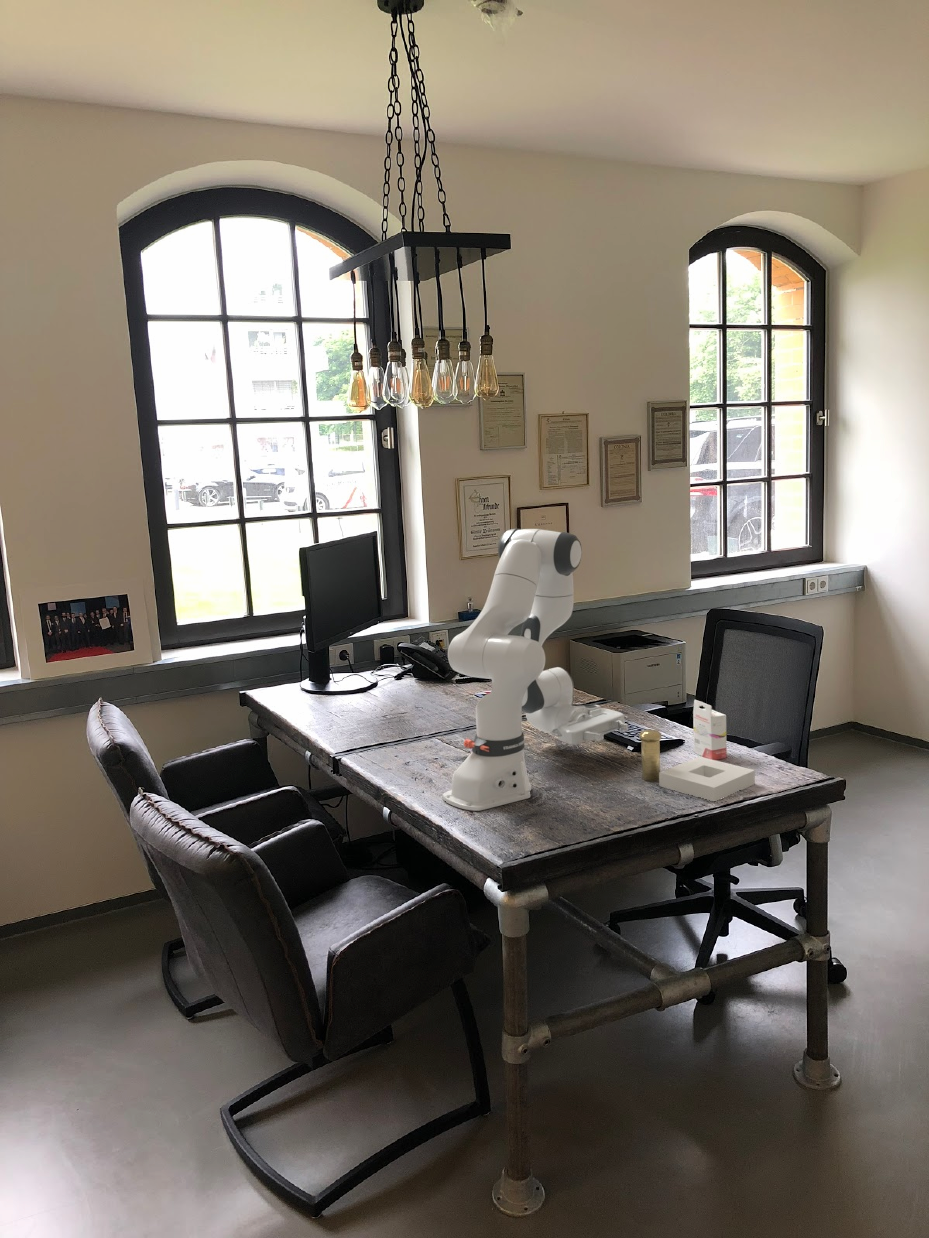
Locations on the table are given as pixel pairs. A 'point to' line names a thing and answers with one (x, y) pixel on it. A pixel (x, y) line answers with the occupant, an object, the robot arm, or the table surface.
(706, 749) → the ink cartridge box
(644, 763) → the brass fitting
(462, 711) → the table surface
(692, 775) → the socket block
